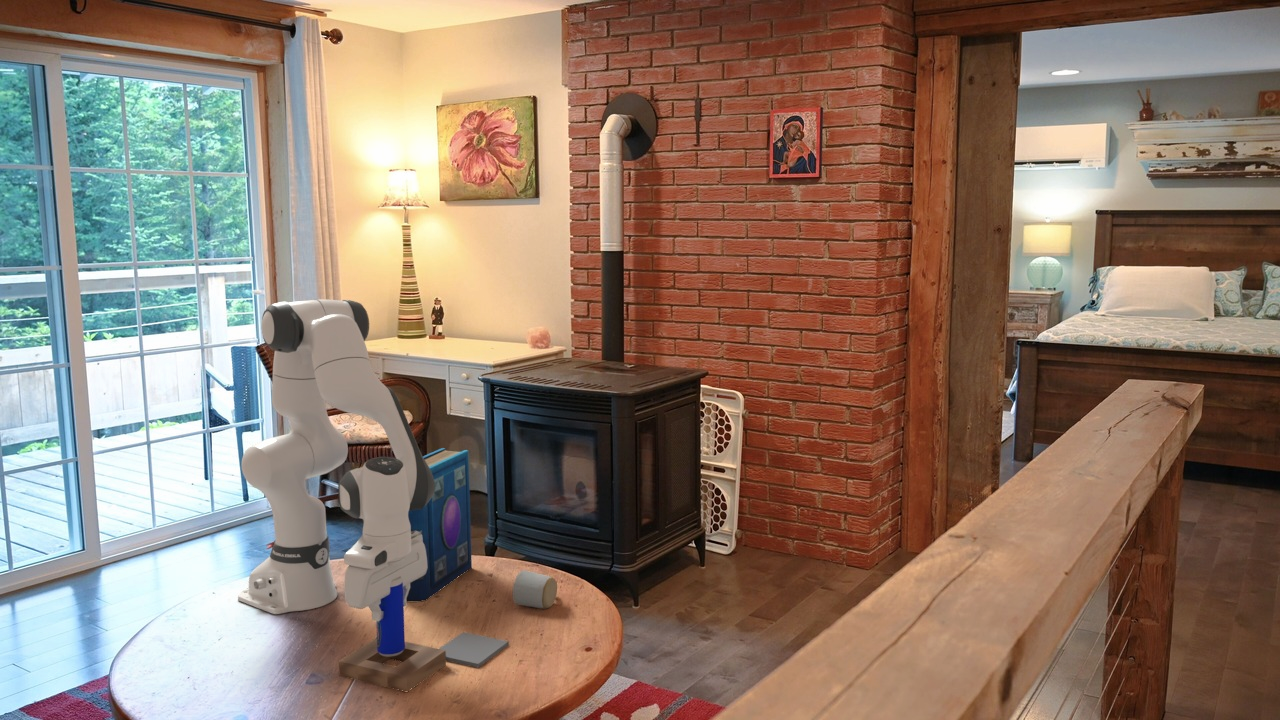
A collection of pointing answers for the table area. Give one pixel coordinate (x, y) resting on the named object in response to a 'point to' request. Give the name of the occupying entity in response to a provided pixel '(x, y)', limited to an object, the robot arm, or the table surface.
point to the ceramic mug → (534, 590)
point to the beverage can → (392, 622)
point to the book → (444, 524)
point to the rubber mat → (472, 649)
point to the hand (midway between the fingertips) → (389, 613)
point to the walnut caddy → (403, 677)
